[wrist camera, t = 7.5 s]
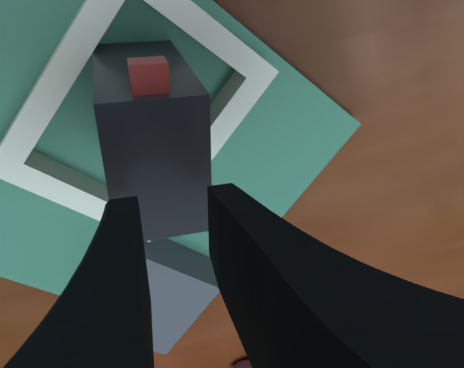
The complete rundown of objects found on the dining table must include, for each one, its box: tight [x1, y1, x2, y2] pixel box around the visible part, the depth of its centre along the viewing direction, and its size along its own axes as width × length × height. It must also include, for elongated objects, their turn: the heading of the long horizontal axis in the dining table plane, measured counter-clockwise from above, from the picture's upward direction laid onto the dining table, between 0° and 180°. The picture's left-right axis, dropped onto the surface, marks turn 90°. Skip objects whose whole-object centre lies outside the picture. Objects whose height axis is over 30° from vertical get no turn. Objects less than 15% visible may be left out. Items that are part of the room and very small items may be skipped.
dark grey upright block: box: [93, 40, 212, 242], centre depth 15 cm, size 3×6×7 cm, turn 0°
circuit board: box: [0, 0, 361, 355], centre depth 18 cm, size 20×16×4 cm
